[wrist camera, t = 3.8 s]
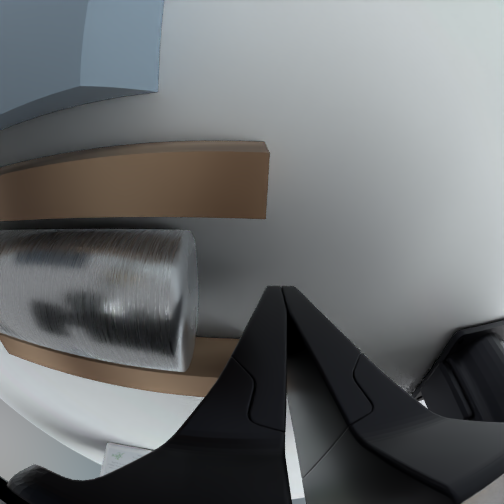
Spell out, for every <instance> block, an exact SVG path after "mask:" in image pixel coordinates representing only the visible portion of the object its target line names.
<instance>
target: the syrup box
mask: <svg viewBox="0 0 504 504" xmlns="http://www.w3.org/2000/svg"><path fill="white" fill-rule="evenodd" d="M150 452H152V450H147V449H142V448H137V447H132V446H126V445H120V444H115V443H110V442H108V443H107V446H106V450H105V454H104V459H103V463H102V468H101V472H100V477H101V476H103V475H106V474H108V473H110V472H112V471H114V470H116V469H119V468H121V467H123V466H125V465H127V464H129V463H131V462H133V461H135V460H137V459H139V458H141V457H142V456H144V455H146V454H148V453H150Z"/></svg>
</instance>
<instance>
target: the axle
mask: <svg viewBox="0 0 504 504" xmlns="http://www.w3.org/2000/svg"><path fill="white" fill-rule="evenodd" d="M198 300H199V282H198V269H197V254H196V244H195V240H194V236H193V234H192V232H191V231H190V230H160V229H30V230H0V332H1V333H4V334H6V335H9V336H12V337H15V338H18V339H21V340H24V341H27V342H30V343H34V344H37V345H40V346H44V347H48V348H51V349H55V350H59V351H62V352H66V353H71V354H75V355H79V356H83V357H88V358H93V359H98V360H103V361H108V362H113V363H119V364H125V365H131V366H137V367H144V368H152V369H159V370H168V371H177V372H185V371H186V370H187V369H188V367H189V365H190V363H191V359H192V356H193V351H194V346H195V339H196V331H197V320H198Z"/></svg>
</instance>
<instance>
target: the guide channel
mask: <svg viewBox="0 0 504 504" xmlns="http://www.w3.org/2000/svg"><path fill="white" fill-rule="evenodd" d="M269 158H270V152H269V150H268V148H267V146H266V144H265V142H257V141H174V142H155V143H141V144H130V145H120V146H111V147H102V148H95V149H87V150H81V151H74V152H68V153H63V154H57V155H52V156H47V157H42V158H37V159H32V160H28V161H24V162H19V163H15V164H11V165H8V166H4V167H0V221H15V220H34V219H59V218H95V217H208V218H248V219H266V206H267V190H268V174H269ZM0 340H1V342H2V344H3V345H4V347H5V348H6V350H7V351H8V353H9V354H12V355H14V356H17V357H19V358H22V359H25V360H27V361H30V362H33V363H36V364H39V365H42V366H45V367H48V368H51V369H54V370H58V371H61V372H64V373H68V374H71V375H75V376H79V377H83V378H87V379H91V380H95V381H99V382H104V383H108V384H113V385H118V386H123V387H129V388H134V389H140V390H146V391H153V392H160V393H168V394H177V395H186V396H197V397H205V396H206V395H207V394H208V392H209V391H210V389H211V388H212V387H213V385H214V384H215V382H216V381H217V379H218V378H219V376H220V374H221V373H222V371H223V369H224V368H225V366H226V364H227V362H228V360H229V358H230V357H231V355H232V353H233V351H234V349H235V347H236V345H237V343H238V341H239V340H240V339H230V338H208V337H196V339H195V346H194V351H193V356H192V359H191V363H190V365H189V367H188V369H187V370H186V371H185V372H177V371H168V370H159V369H152V368H144V367H137V366H131V365H125V364H119V363H113V362H108V361H103V360H98V359H93V358H88V357H83V356H79V355H75V354H71V353H66V352H62V351H59V350H55V349H51V348H48V347H44V346H40V345H37V344H34V343H30V342H27V341H24V340H21V339H18V338H15V337H12V336H9V335H6V334H4V333H1V332H0Z"/></svg>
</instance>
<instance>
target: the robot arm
mask: <svg viewBox="0 0 504 504" xmlns="http://www.w3.org/2000/svg"><path fill="white" fill-rule="evenodd" d="M286 395H287V397H288V403H289V408H290V414H291V419H292V425H293V431H294V436H295V442H296V448H297V453H298V459H299V465H300V470H301V476H302V482H303V488H304V494H305V500H306V504H504V320H502V321H498V322H494V323H490V324H486V325H481V326H477V327H472V328H467V329H462V330H459V331H458V332H456V333H455V334H454V335H453V337H452V338H451V340H450V341H449V343H448V345H447V346H446V348H445V349H444V351H443V353H442V354H441V356H440V357H439V359H438V360H437V362H436V363H435V364H434V366H433V367H432V369H431V370H430V372H429V373H428V374H427V376H426V377H425V378H424V380H423V381H422V382H421V384H420V385H419V386H418V388H417V389H416V390H415V392H414V393H413V394H412V396H411V395H409V394H408V393H407V392H406V391H404V390H403V389H402V388H401V387H399V386H398V385H397V384H396V383H394V382H393V381H392V380H391V379H390V378H389V377H387V376H386V375H385V374H384V373H383V372H382V371H380V370H379V369H378V368H377V367H376V366H375V365H374V364H373V363H372V362H371V361H370V360H369V359H368V358H367V357H366V356H365V355H364V354H363V353H361V351H360V350H359V349H358V348H357V347H356V346H355V345H354V344H353V343H352V342H351V341H350V340H349V339H348V338H347V337H346V336H345V335H344V334H343V333H342V332H340V331H339V330H338V329H337V328H336V327H335V326H334V325H333V324H332V323H331V322H330V321H329V320H328V319H327V318H326V317H325V316H324V315H323V314H322V313H321V312H320V311H319V310H318V309H317V308H316V307H315V306H314V305H313V304H312V303H311V302H310V301H309V300H308V299H307V298H306V297H305V296H304V295H303V294H302V293H301V292H300V291H299V290H298V289H297V288H296V287H294V286H282V287H280V286H267V287H266V289H265V291H264V293H263V295H262V297H261V299H260V301H259V303H258V305H257V307H256V309H255V311H254V313H253V314H252V316H251V318H250V320H249V322H248V324H247V326H246V328H245V330H244V332H243V334H242V336H241V338H240V340H239V341H238V343H237V345H236V347H235V349H234V351H233V353H232V355H231V357H230V358H229V360H228V362H227V364H226V366H225V368H224V369H223V371H222V373H221V374H220V376H219V378H218V379H217V381H216V382H215V384H214V385H213V387H212V388H211V389H210V391H209V392H208V394H207V395H206V396H205V397H204V399H203V400H202V401H201V403H200V404H199V405H198V406H197V408H196V409H195V410H194V411H193V413H192V414H191V415H190V416H189V417H188V419H187V420H186V421H185V422H184V424H183V425H182V426H181V427H180V428H179V430H178V431H177V432H176V433H175V434H174V435H173V436H172V437H171V438H170V439H169V440H168V441H167V442H166V443H165V444H163V445H162V446H160V447H159V448H157V449H155V450H154V451H152V452H150V453H148V454H146V455H144V456H142V457H141V458H139V459H137V460H135V461H133V462H131V463H129V464H127V465H125V466H123V467H121V468H119V469H116V470H114V471H112V472H110V473H108V474H106V475H103V476H101V477H98V478H95V479H91V480H84V481H82V480H72V479H68V478H65V477H63V476H61V475H59V474H56V473H54V472H52V471H50V470H47V469H46V468H43V467H41V466H38V465H32V466H30V467H28V468H26V469H24V470H22V471H20V472H19V473H17V474H16V475H14V476H13V477H12V478H11V479H10V481H9V482H8V481H7V480H5V479H4V478H2V477H1V476H0V504H292V500H291V493H290V486H289V479H288V472H287V465H286V458H285V427H286ZM421 400H424V401H425V403H426V405H427V408H428V409H427V408H426V407H425V406H423V405H422V404H421V403H420V402H418V401H421Z"/></svg>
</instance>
